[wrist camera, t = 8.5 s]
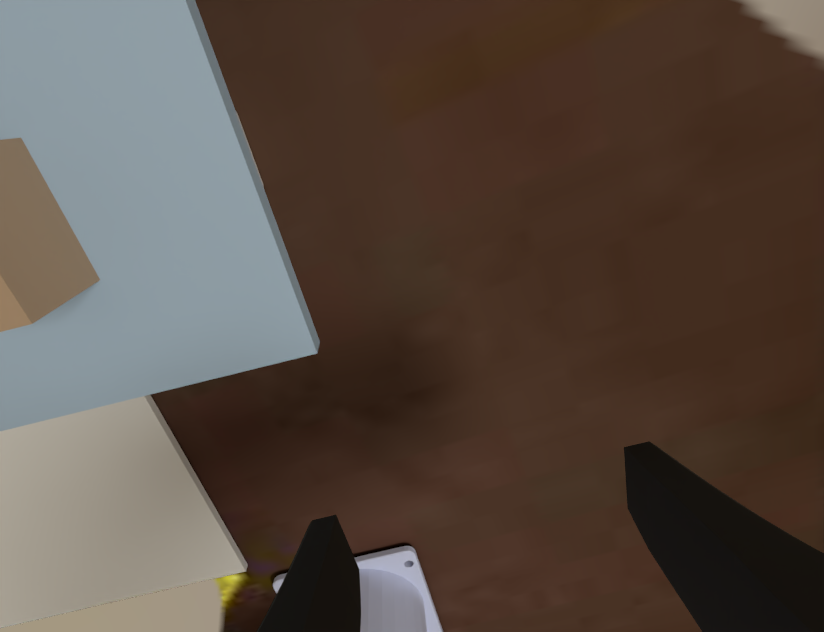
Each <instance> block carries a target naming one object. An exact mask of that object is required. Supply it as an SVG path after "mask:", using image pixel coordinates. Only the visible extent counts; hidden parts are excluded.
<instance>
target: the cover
mask: <svg viewBox="0 0 824 632" xmlns="http://www.w3.org/2000/svg"><path fill="white" fill-rule="evenodd" d="M319 344H320V341H319V338H318V335H317V333H316V330H315V327H314V324H313V322H312V319H311V316H310V314H309V311H308V308H307V305H306V303H305V300H304V297H303V294H302V292H301V289H300V286H299V283H298V281H297V278H296V275H295V273H294V270H293V267H292V264H291V262H290V259H289V256H288V253H287V251H286V248H285V245H284V242H283V240H282V237H281V234H280V231H279V229H278V226H277V223H276V221H275V218H274V215H273V212H272V210H271V207H270V204H269V201H268V199H267V196H266V193H265V190H264V188H263V185H262V182H261V180H260V177H259V174H258V171H257V169H256V166H255V163H254V160H253V158H252V155H251V152H250V149H249V147H248V144H247V141H246V139H245V136H244V133H243V130H242V128H241V125H240V122H239V119H238V117H237V114H236V111H235V108H234V106H233V103H232V100H231V98H230V95H229V92H228V89H227V87H226V84H225V81H224V78H223V76H222V73H221V70H220V67H219V65H218V62H217V59H216V57H215V54H214V51H213V48H212V46H211V43H210V40H209V37H208V35H207V32H206V29H205V26H204V24H203V21H202V18H201V16H200V13H199V10H198V7H197V5H196V2H195V0H0V431H4V430H8V429H12V428H16V427H20V426H24V425H28V424H32V423H36V422H40V421H45V420H49V419H53V418H57V417H61V416H65V415H69V414H73V413H77V412H81V411H85V410H89V409H93V408H97V407H101V406H106V405H110V404H114V403H118V402H122V401H126V400H130V399H134V398H138V397H142V396H146V395H150V394H154V393H158V392H162V391H167V390H171V389H175V388H179V387H183V386H187V385H191V384H195V383H199V382H203V381H207V380H211V379H215V378H219V377H223V376H228V375H232V374H236V373H240V372H244V371H248V370H252V369H256V368H260V367H264V366H268V365H272V364H276V363H280V362H284V361H289V360H293V359H297V358H301V357H305V356H309V355H313V354H317V352H318V348H319Z"/></svg>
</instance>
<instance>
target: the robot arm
mask: <svg viewBox="0 0 824 632" xmlns="http://www.w3.org/2000/svg"><path fill="white" fill-rule="evenodd" d="M624 454H625V471H626V487H627V504H628V509H629V511H630V513H631V515H632V517H633V519H634V522H635V524H636V526H637V528H638V530H639V531H640V533H641V535H642V537H643V539H644V541H645V543H646V545H647V547H648V549H649V550H650V552H651V554H652V555H653V557H654V558H655V560H656V561H657V563H658V564H659V566H660V568H661V569H662V571H663V572H664V574H665V575H666V577H667V578H668V580H669V581H670V583H671V584H672V586H673V588H674V589H675V591H676V592H677V594H678V595H679V597H680V598H681V600H682V601H683V603H684V604H685V606H686V607H687V609H688V610H689V612H690V613H691V615H692V616H693V618H694V619H695V621H696V623H697V624H698V626H699V627H700V629H701V630H702V632H824V553H822V552H820V551H818V550H816V549H814V548H813V547H811V546H809V545H807V544H805V543H804V542H802V541H800V540H799V539H797V538H795V537H793V536H792V535H790V534H788V533H786V532H785V531H783V530H781V529H780V528H778V527H776V526H775V525H773V524H771V523H770V522H768V521H766V520H765V519H763V518H762V517H760V516H758V515H757V514H755V513H754V512H752V511H750V510H749V509H747V508H746V507H744V506H743V505H741V504H740V503H738V502H736V501H735V500H733V499H732V498H730V497H729V496H727V495H726V494H724V493H723V492H721V491H720V490H718V489H717V488H715V487H714V486H712V485H711V484H709V483H708V482H706V481H705V480H703V479H702V478H701V477H699V476H698V475H696V474H695V473H693V472H692V471H690V470H689V469H688V468H686V467H685V466H683V465H682V464H681V463H679V462H678V461H676V460H675V459H674V458H672V457H671V456H669V455H668V454H667V453H665V452H664V451H662V450H661V449H660V448H658V447H657V446H655V445H654V444H652V443H651V442H645V443H641V444H636V445H632V446H628V447H624ZM273 588H274V590H275V592H276V596H275V598H274V600H273V602H272V604H271V606H270V608H269V610H268V612H267V614H266V616H265V618H264V620H263V621H262V623H261V625H260V627H259V629H258V630H257V632H443V630H442V627H441V624H440V621H439V618H438V615H437V612H436V609H435V606H434V604H433V601H432V598H431V595H430V592H429V589H428V586H427V583H426V580H425V577H424V574H423V571H422V569H421V566H420V563H419V560H418V557H417V554H416V551H415V549H414V548H413V547H411V546H402V547H398V548H393V549H389V550H384V551H380V552H376V553H371V554H367V555H363V556H358V557H354V556H353V554H352V551H351V549H350V547H349V544H348V542H347V539H346V537H345V535H344V532H343V530H342V528H341V525H340V523H339V521H338V518H337V516H336V515H333V516H329V517H325V518H321V519H316V520H312V522H311V523H310V525H309V527H308V529H307V531H306V533H305V536H304V538H303V540H302V542H301V544H300V547H299V549H298V551H297V553H296V555H295V557H294V560H293V562H292V564H291V566H290V568H289V570H288V572H287V573H285V574H280V575H278V576H276V577H275V578H274V582H273Z"/></svg>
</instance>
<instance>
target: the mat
mask: <svg viewBox="0 0 824 632" xmlns="http://www.w3.org/2000/svg"><path fill="white" fill-rule="evenodd" d="M247 566H248V564H247V562H246V561H245V559H244V557H243V555H242V554H241V552H240V550H239V548H238V547H237V545H236V543H235V541H234V540H233V538H232V536H231V534H230V533H229V531H228V529H227V528H226V526H225V524H224V522H223V521H222V519H221V517H220V515H219V514H218V512H217V510H216V508H215V507H214V505H213V503H212V501H211V500H210V498H209V496H208V494H207V493H206V491H205V489H204V487H203V486H202V484H201V482H200V480H199V479H198V477H197V475H196V473H195V472H194V470H193V468H192V466H191V465H190V463H189V461H188V459H187V458H186V456H185V454H184V452H183V451H182V449H181V447H180V445H179V444H178V442H177V440H176V439H175V437H174V435H173V433H172V432H171V430H170V428H169V426H168V425H167V423H166V421H165V419H164V418H163V416H162V414H161V412H160V411H159V409H158V407H157V405H156V404H155V402H154V400H153V398H152V397H151V395H146V396H142V397H138V398H134V399H130V400H126V401H122V402H118V403H114V404H110V405H106V406H101V407H97V408H93V409H89V410H85V411H81V412H77V413H73V414H69V415H65V416H61V417H57V418H53V419H49V420H45V421H40V422H36V423H32V424H28V425H24V426H20V427H16V428H12V429H8V430H4V431H0V628H3V627H8V626H12V625H16V624H21V623H24V622H29V621H33V620H38V619H42V618H46V617H51V616H55V615H59V614H64V613H68V612H73V611H76V610H81V609H86V608H90V607H94V606H99V605H102V604H107V603H111V602H116V601H120V600H124V599H129V598H133V597H137V596H142V595H146V594H150V593H155V592H159V591H163V590H167V589H172V588H176V587H180V586H185V585H189V584H193V583H197V582H202V581H206V580H211V579H215V578H219V577H224V576H228V575H232V574H237V573H241V572H245V571H246V569H247Z"/></svg>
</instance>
